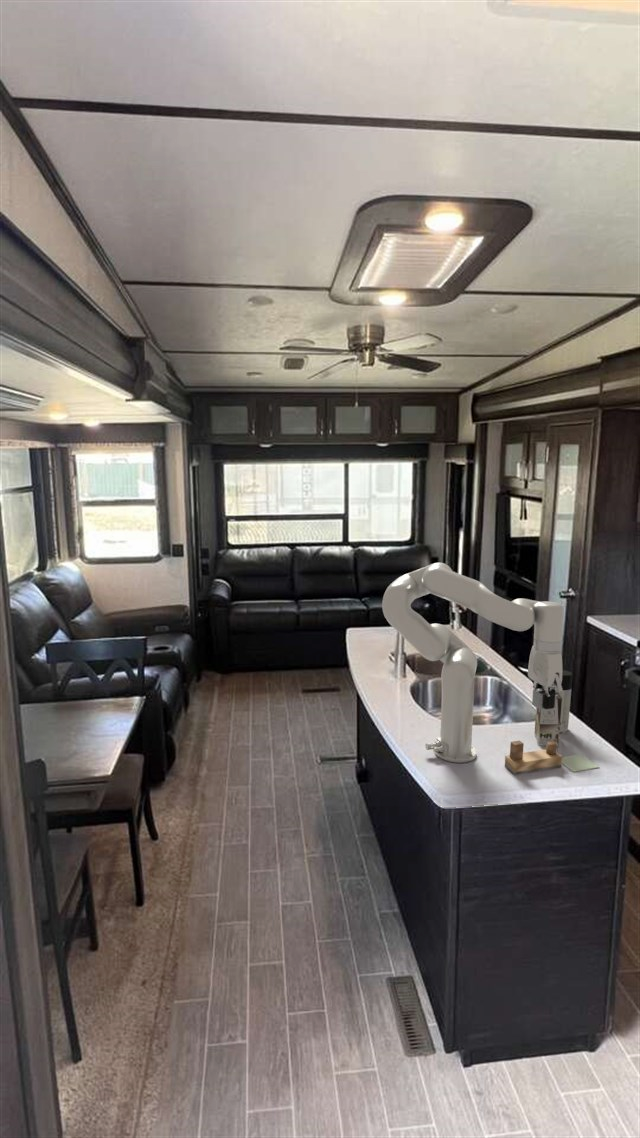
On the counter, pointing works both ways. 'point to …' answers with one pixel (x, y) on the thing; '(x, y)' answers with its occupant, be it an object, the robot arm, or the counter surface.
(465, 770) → the counter surface
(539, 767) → the wooden peg block
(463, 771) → the counter surface
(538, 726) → the coffee box
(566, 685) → the spray can
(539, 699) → the lever cap
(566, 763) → the felt pad
